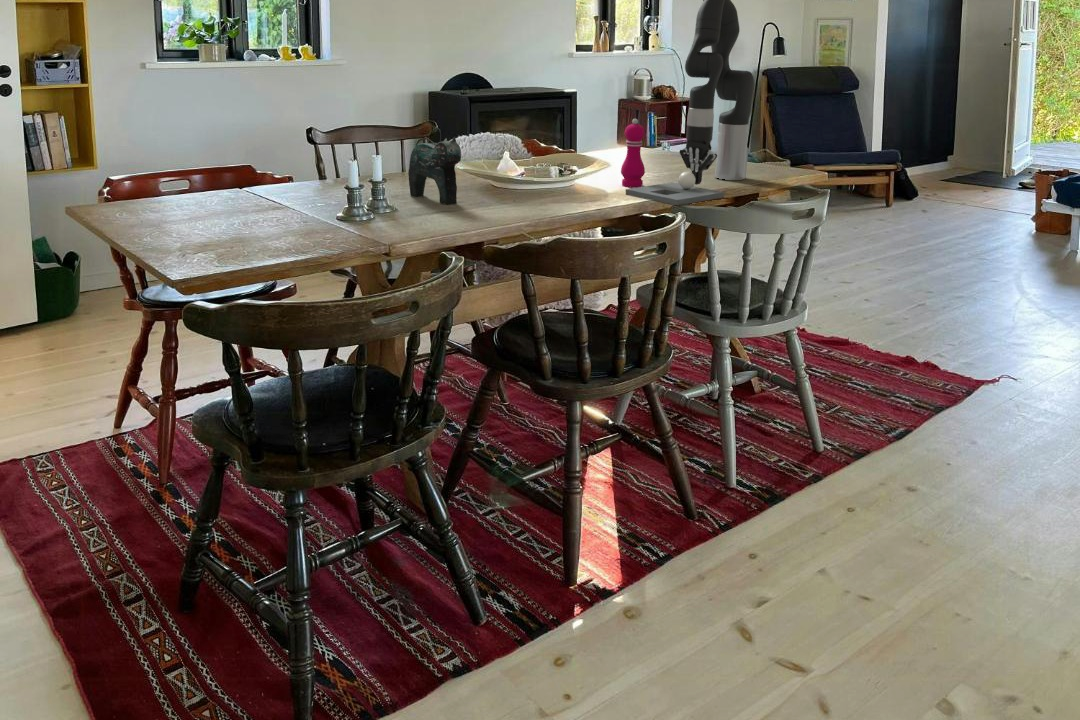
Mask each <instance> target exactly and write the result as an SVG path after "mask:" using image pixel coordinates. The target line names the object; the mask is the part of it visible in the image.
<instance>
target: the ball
mask: <svg viewBox="0 0 1080 720" xmlns="http://www.w3.org/2000/svg"><path fill="white" fill-rule="evenodd" d="M695 181H696V179H695V176H694V175H693V174H692V171H684V172H681V173H680V174H679V176H678V182H677V183H679V185H680V186H681V187H682V188H684V189H690V188H692V187H693V186H694V185H696V184H695ZM694 187H695V186H694Z"/></svg>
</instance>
